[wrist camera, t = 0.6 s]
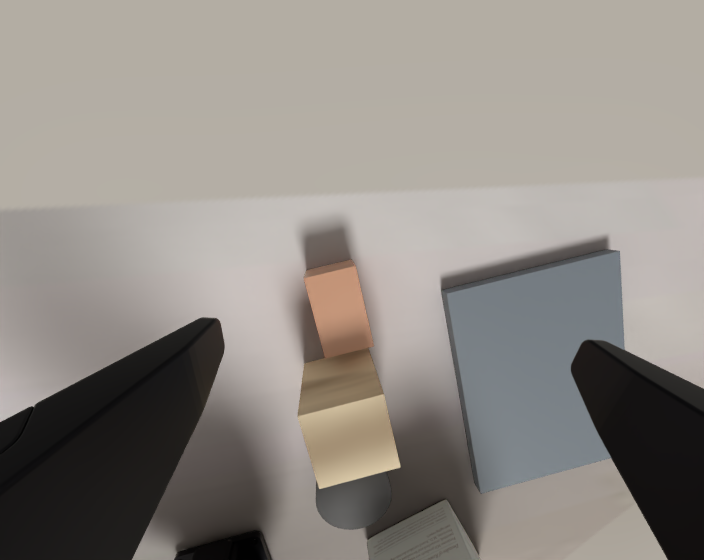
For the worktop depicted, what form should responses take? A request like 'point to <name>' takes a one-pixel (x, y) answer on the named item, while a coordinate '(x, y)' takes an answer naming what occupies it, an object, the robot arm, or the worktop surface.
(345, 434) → the beech block
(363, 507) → the smooth grey pebble
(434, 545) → the supplement box
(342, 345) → the terracotta tile
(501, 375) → the slate board
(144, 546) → the worktop surface
